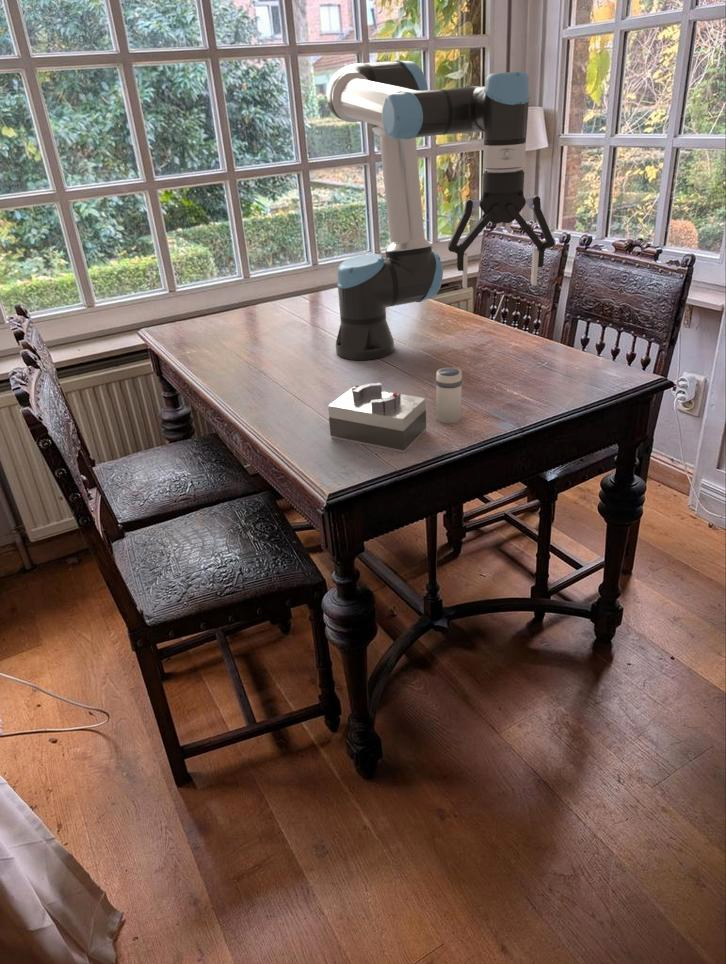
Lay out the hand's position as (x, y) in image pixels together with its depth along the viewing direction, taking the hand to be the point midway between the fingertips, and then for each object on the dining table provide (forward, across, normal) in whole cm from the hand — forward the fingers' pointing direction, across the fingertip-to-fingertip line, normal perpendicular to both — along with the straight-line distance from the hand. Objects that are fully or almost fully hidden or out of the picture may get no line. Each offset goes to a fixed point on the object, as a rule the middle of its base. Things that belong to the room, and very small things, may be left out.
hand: (498, 285), depth 136 cm
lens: (+24, -10, -11) cm, 28 cm away
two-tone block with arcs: (+24, -24, -18) cm, 38 cm away
